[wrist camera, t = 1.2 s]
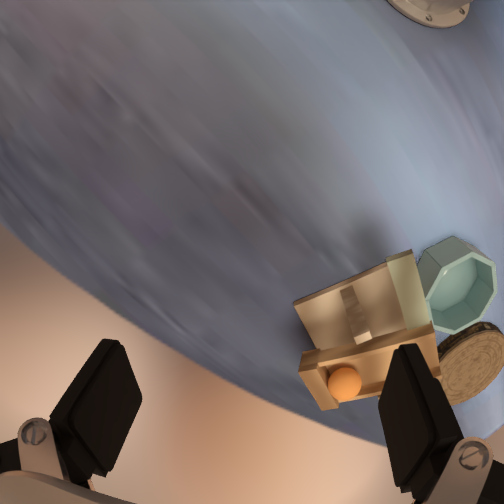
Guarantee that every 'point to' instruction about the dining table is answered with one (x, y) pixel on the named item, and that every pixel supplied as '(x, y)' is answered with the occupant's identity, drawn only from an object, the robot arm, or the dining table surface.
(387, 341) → the lever
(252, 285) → the dining table surface
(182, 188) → the dining table surface
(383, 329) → the frame
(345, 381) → the ball
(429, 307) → the green octagonal bowl
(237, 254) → the dining table surface
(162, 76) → the dining table surface
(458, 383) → the wood log slice
